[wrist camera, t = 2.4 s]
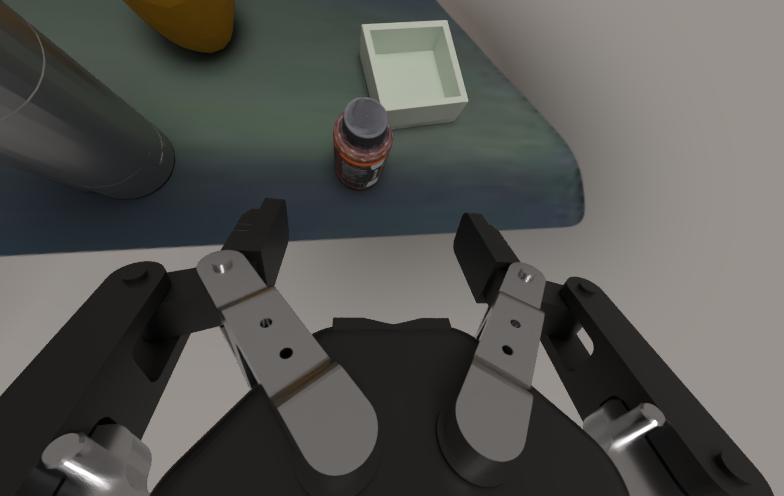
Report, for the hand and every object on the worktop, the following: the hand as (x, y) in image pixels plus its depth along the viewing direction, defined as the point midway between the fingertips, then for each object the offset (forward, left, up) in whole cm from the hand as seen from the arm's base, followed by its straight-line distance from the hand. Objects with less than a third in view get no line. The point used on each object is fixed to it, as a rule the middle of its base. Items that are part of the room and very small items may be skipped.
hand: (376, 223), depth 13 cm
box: (+12, +21, -22) cm, 33 cm away
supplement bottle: (+3, +11, -22) cm, 25 cm away
